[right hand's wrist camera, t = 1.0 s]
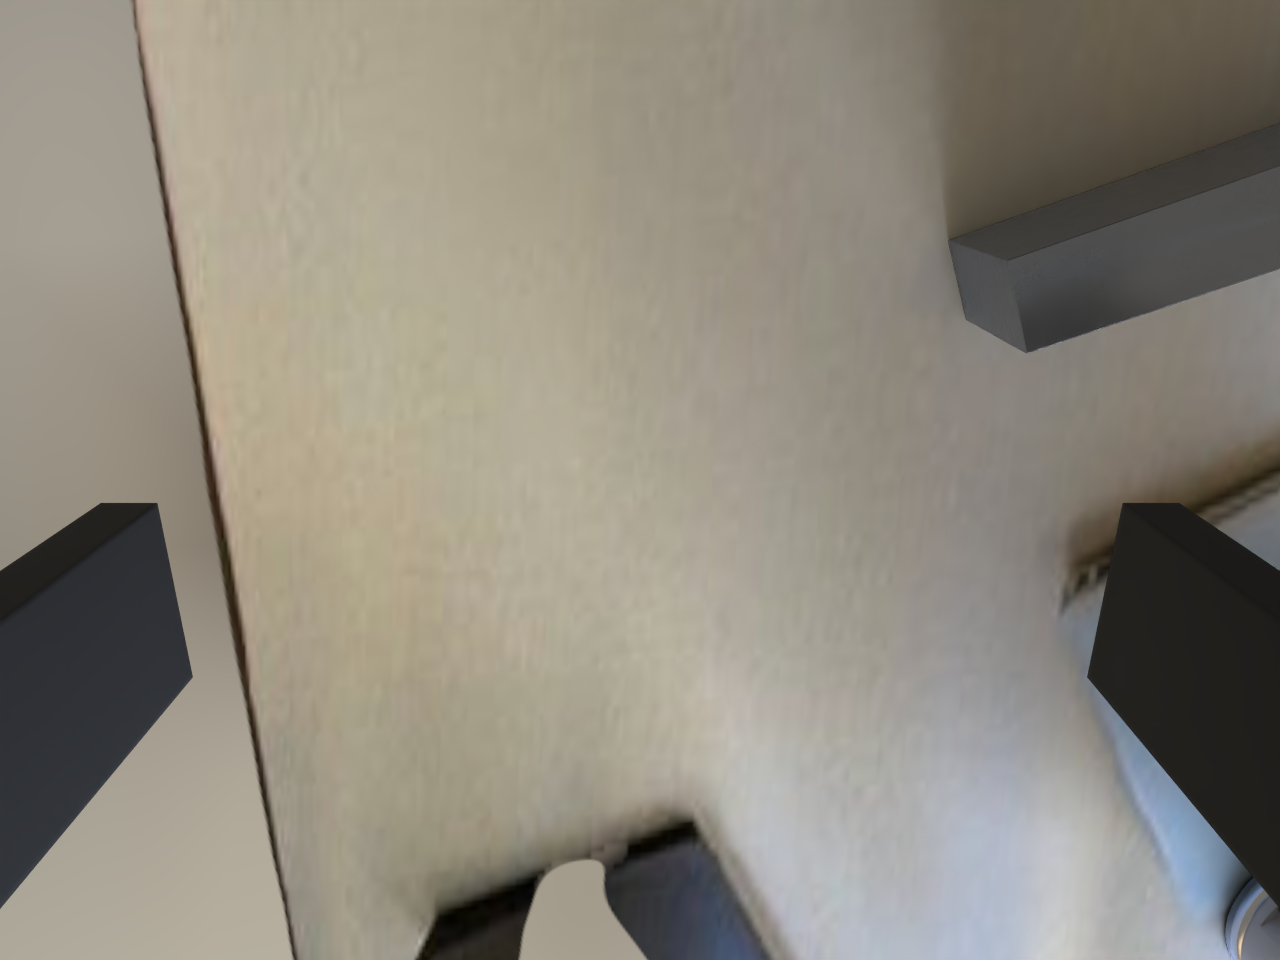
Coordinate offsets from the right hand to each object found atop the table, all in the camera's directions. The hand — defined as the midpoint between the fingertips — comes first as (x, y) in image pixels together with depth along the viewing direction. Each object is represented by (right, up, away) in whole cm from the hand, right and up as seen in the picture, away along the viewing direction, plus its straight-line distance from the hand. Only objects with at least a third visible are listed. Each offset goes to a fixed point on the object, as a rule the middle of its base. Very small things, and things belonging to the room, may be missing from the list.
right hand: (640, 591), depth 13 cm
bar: (+30, +17, +37) cm, 51 cm away
